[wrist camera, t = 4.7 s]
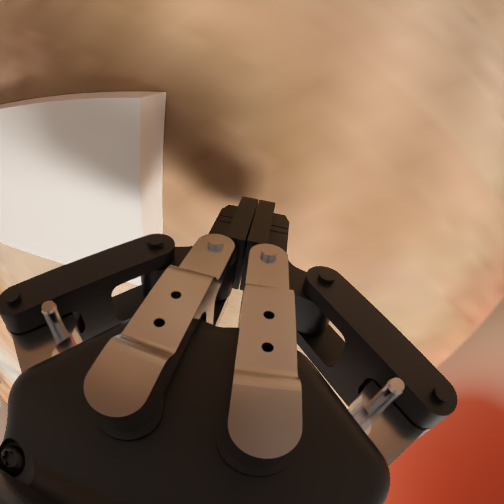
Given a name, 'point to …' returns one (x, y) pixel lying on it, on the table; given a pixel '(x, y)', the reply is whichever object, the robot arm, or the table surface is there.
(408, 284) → the table surface
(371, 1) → the table surface
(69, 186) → the white eraser-like slab
